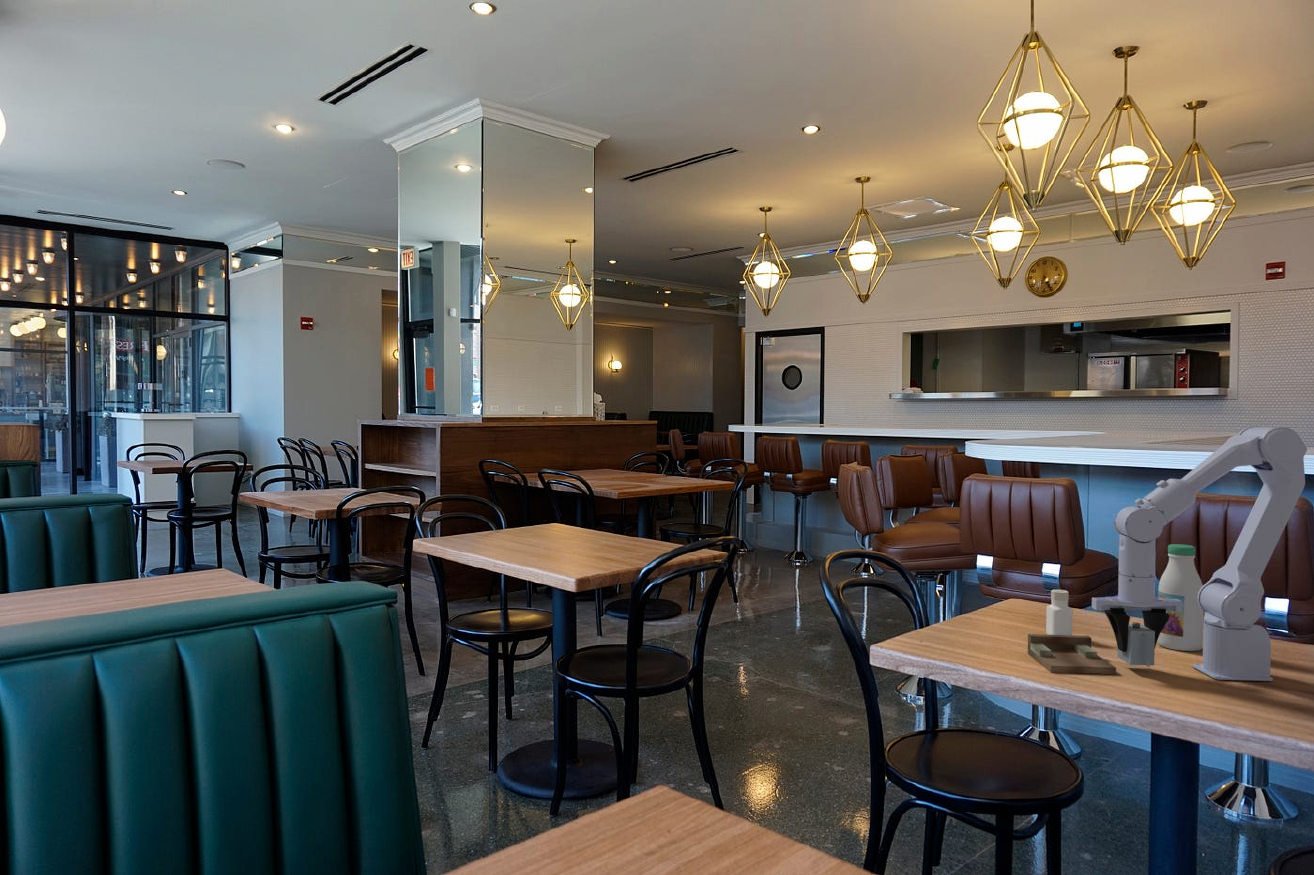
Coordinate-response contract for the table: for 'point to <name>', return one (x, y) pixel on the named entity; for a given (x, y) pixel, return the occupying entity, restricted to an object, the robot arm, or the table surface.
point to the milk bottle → (1183, 586)
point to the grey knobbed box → (1139, 645)
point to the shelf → (1067, 654)
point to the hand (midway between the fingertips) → (1135, 650)
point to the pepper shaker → (1059, 614)
